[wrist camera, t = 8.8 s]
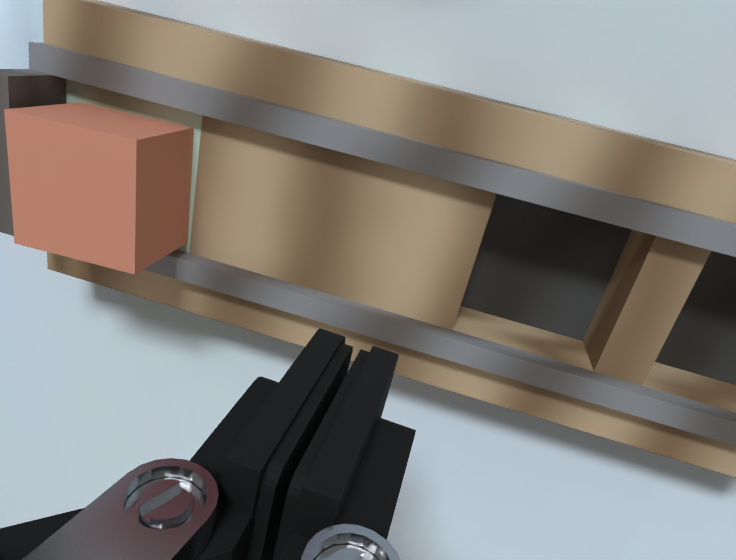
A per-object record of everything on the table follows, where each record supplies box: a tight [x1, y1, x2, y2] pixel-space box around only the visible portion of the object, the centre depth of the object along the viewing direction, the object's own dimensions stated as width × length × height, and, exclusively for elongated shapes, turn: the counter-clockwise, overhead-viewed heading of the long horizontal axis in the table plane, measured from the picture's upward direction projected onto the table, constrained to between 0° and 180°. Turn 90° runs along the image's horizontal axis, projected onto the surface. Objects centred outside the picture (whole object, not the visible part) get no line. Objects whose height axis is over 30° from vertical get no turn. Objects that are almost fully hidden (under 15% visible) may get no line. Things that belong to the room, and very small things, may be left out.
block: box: [4, 102, 194, 274], centre depth 21 cm, size 5×5×4 cm
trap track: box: [0, 0, 736, 477], centre depth 22 cm, size 34×12×6 cm, turn 77°
